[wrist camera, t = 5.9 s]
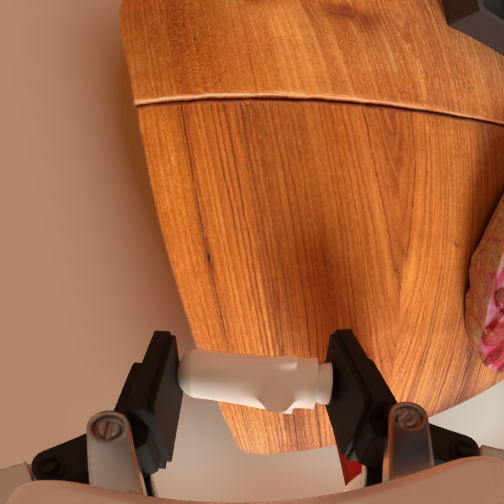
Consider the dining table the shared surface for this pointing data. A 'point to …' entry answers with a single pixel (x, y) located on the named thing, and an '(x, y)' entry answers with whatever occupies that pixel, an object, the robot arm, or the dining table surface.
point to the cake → (488, 295)
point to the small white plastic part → (256, 380)
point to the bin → (478, 20)
